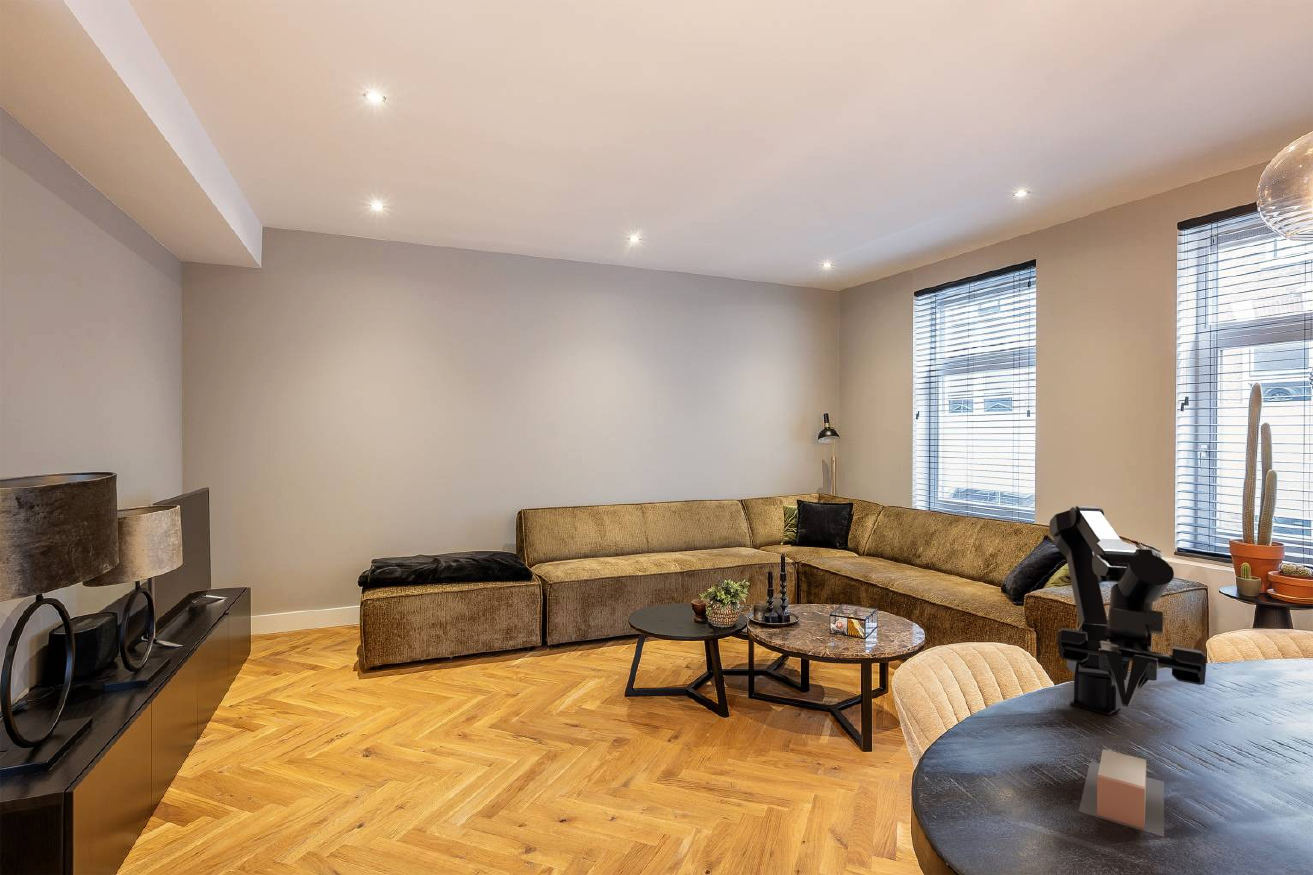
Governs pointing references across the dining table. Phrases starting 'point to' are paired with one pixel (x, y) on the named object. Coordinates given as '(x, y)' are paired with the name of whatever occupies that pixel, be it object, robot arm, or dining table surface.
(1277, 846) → the dining table surface
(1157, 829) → the charcoal mat
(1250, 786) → the dining table surface
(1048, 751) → the dining table surface
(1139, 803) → the cream block
